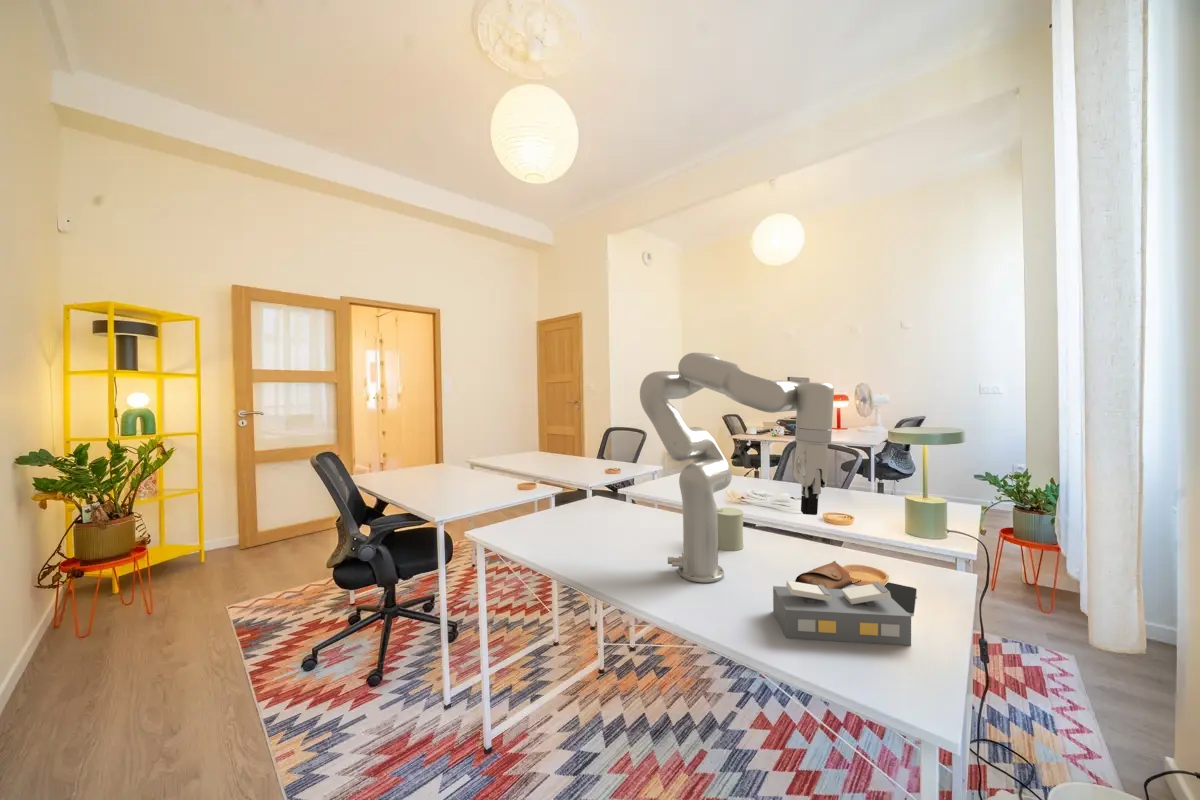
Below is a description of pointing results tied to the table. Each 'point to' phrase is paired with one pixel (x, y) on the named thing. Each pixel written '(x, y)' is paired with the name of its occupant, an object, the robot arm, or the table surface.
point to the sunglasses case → (827, 576)
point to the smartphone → (903, 596)
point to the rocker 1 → (808, 590)
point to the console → (841, 618)
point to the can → (730, 529)
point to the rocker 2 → (866, 593)
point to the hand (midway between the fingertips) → (808, 513)
